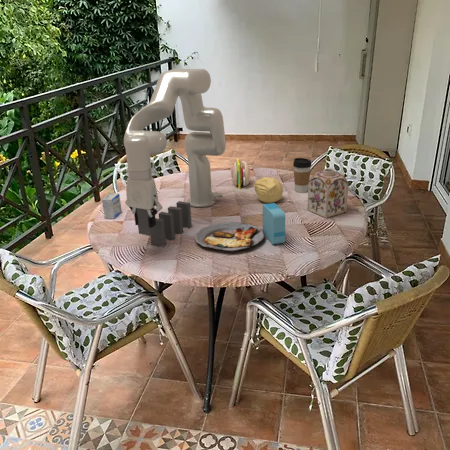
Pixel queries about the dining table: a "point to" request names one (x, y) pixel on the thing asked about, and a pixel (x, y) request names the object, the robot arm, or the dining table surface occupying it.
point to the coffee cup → (301, 174)
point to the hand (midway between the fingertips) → (145, 224)
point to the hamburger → (241, 173)
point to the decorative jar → (327, 193)
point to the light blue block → (274, 223)
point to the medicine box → (112, 206)
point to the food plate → (230, 236)
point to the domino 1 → (144, 222)
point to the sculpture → (268, 189)
